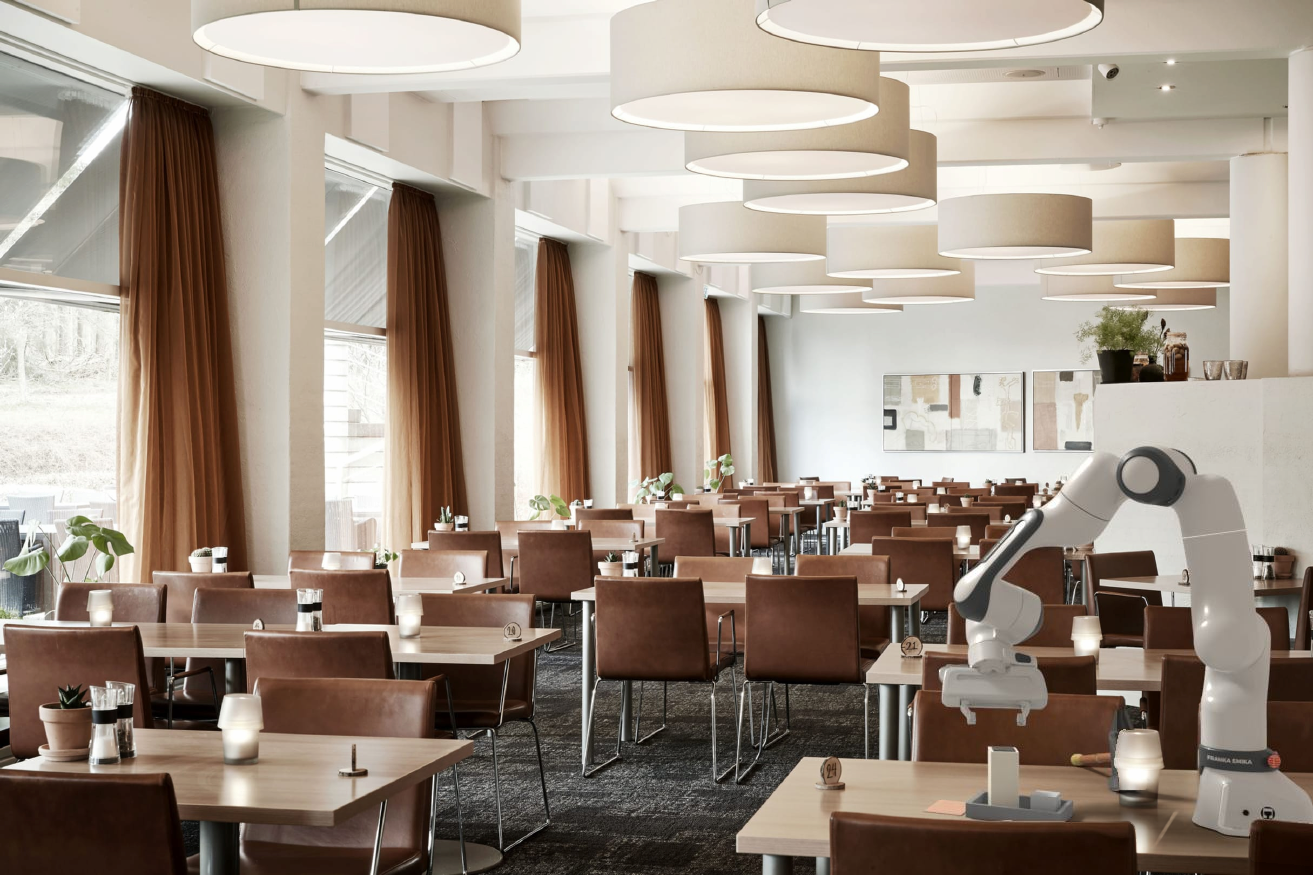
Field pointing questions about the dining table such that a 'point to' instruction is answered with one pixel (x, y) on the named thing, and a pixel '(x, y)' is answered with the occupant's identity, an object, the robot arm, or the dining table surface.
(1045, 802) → the grey block
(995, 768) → the white box
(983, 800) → the parts tray
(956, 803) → the pad
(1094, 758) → the hammer
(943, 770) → the dining table surface
